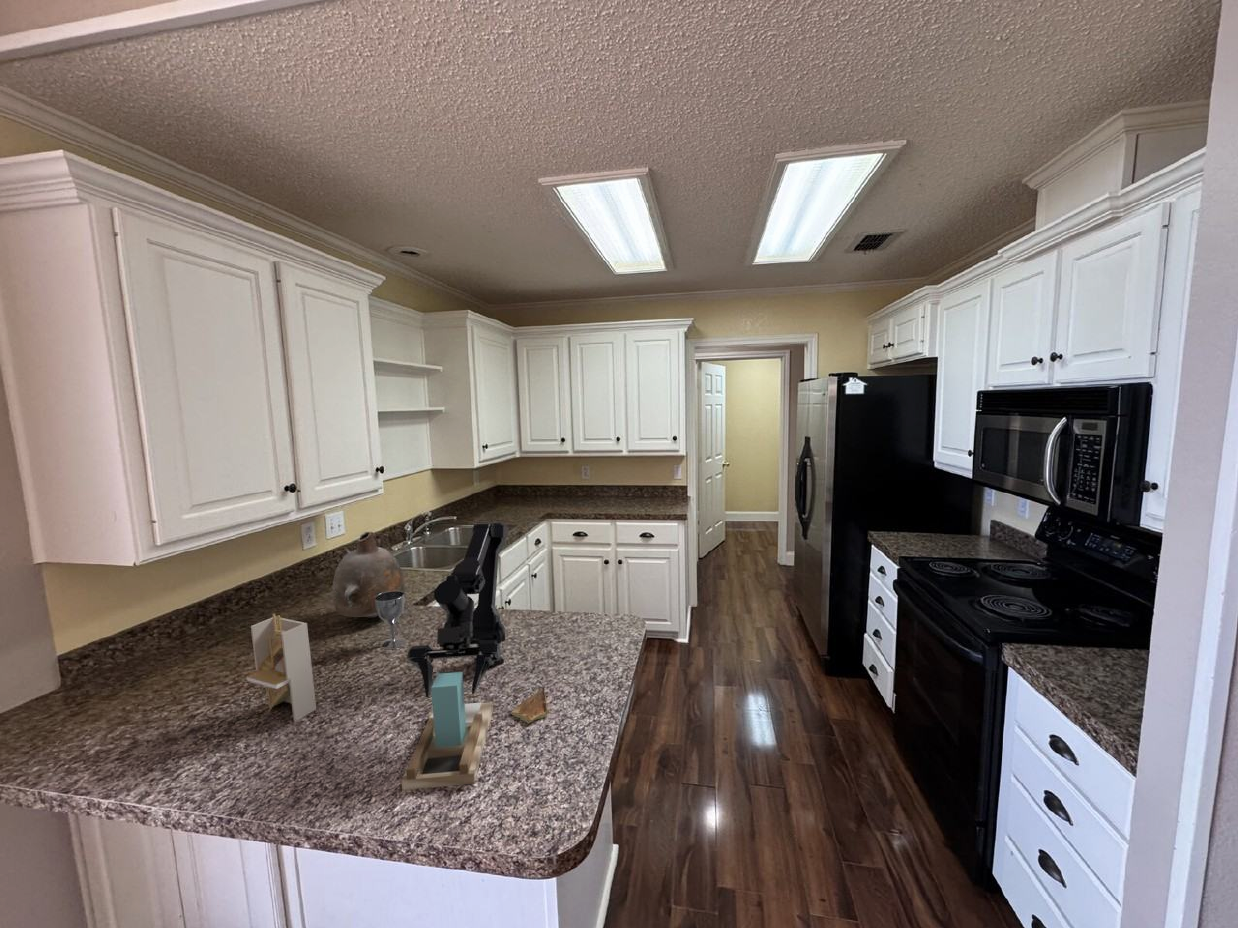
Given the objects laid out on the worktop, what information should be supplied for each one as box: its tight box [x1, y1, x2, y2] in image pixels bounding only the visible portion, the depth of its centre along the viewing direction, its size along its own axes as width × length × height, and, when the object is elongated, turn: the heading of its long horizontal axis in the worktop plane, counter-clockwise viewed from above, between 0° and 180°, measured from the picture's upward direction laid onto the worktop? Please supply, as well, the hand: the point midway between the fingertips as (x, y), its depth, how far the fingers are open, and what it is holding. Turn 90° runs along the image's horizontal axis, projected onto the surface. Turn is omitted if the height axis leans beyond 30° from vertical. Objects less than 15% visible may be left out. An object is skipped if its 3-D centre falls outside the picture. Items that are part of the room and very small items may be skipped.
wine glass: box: [375, 590, 407, 650], centre depth 145 cm, size 8×8×15 cm
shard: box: [511, 687, 549, 725], centre depth 113 cm, size 11×8×2 cm
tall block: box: [430, 671, 466, 748], centre depth 100 cm, size 5×5×13 cm
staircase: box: [246, 613, 317, 723], centre depth 112 cm, size 8×12×26 cm
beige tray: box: [401, 701, 494, 791], centre depth 101 cm, size 22×13×4 cm, turn 6°
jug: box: [332, 530, 406, 619], centre depth 162 cm, size 24×21×30 cm
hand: (450, 695), depth 101 cm, fingers open, 9 cm apart
